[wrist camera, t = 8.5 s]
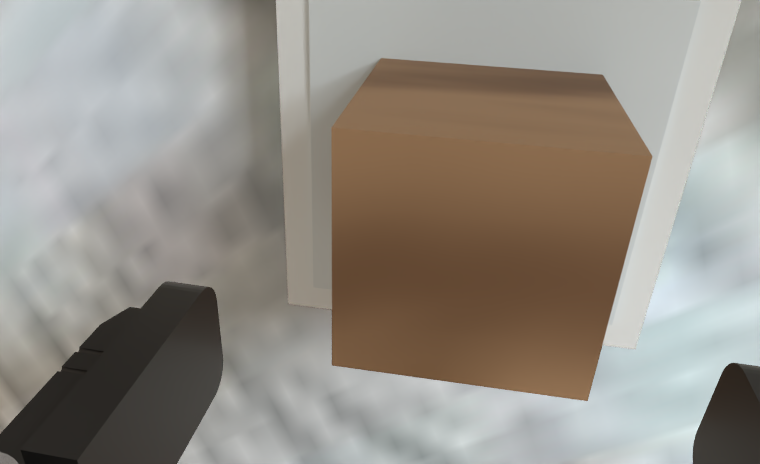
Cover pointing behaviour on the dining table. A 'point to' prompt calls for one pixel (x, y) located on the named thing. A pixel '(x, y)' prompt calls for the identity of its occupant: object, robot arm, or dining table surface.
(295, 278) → the tray
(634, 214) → the walnut cube
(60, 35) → the dining table surface
